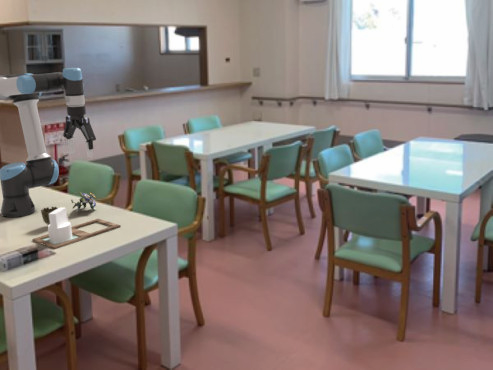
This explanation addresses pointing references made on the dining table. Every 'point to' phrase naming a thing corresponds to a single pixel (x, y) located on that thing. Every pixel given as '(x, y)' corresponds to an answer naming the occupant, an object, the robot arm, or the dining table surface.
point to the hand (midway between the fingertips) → (81, 155)
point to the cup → (47, 214)
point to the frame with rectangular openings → (76, 234)
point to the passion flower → (85, 201)
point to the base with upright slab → (59, 226)
